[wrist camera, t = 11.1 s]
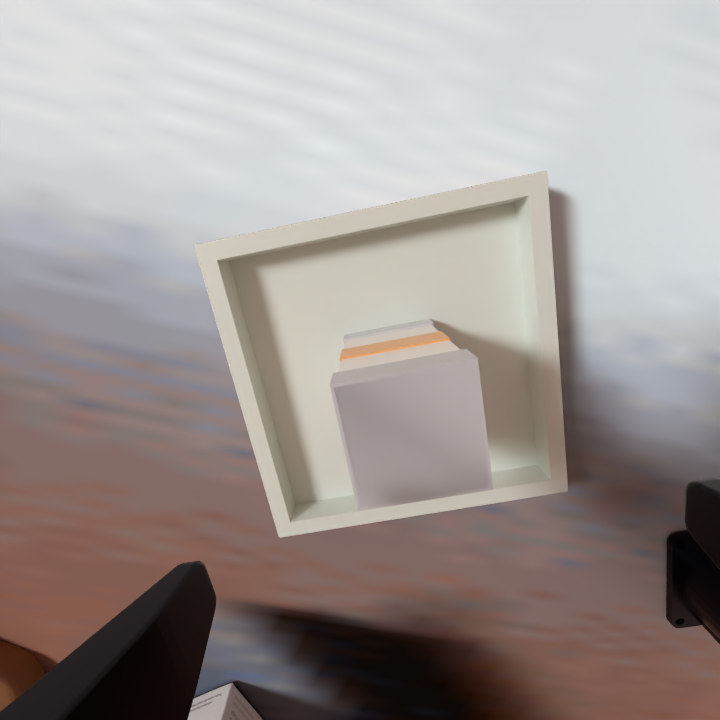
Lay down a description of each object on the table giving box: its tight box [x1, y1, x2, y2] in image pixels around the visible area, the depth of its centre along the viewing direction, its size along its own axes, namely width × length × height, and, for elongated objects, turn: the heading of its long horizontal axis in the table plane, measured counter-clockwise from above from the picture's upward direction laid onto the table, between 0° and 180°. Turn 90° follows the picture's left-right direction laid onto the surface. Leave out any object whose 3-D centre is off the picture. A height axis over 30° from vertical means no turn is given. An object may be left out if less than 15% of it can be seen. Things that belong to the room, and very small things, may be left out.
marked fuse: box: [330, 319, 493, 511], centre depth 15 cm, size 4×4×8 cm
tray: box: [194, 171, 568, 538], centre depth 18 cm, size 15×15×2 cm
